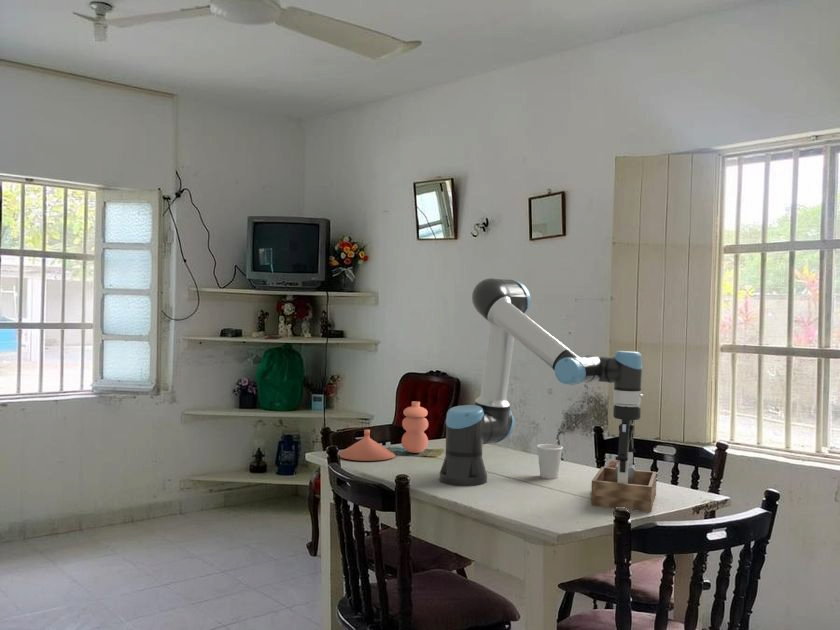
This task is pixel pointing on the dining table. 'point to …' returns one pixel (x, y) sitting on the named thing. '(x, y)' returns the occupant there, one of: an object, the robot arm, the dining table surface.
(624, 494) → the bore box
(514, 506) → the dining table surface
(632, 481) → the peg
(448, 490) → the dining table surface
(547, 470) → the dixie cup
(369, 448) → the ceramic vessels
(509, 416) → the robot arm
